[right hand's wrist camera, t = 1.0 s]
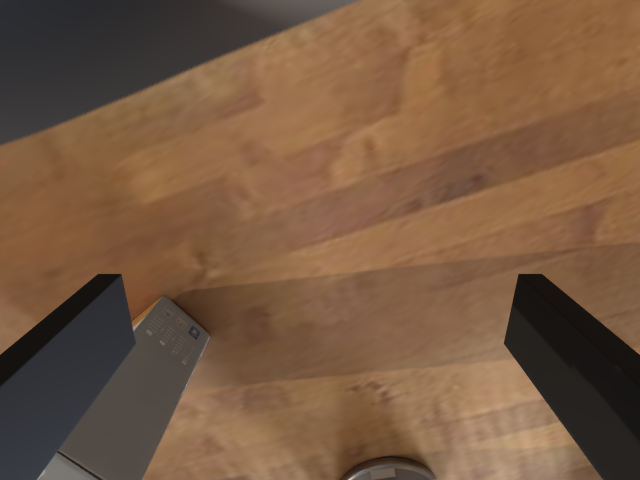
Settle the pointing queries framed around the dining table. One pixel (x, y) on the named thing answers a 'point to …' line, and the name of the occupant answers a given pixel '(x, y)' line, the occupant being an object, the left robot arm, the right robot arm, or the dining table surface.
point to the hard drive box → (134, 401)
